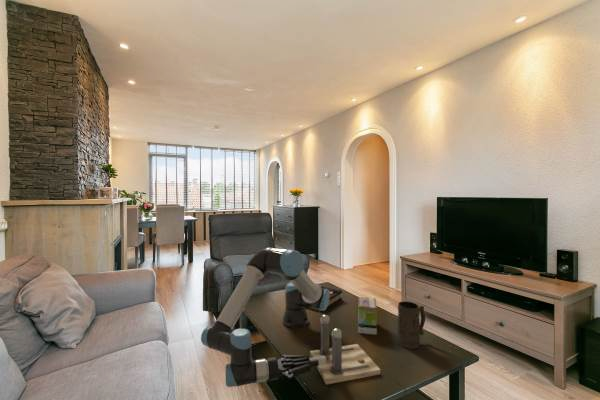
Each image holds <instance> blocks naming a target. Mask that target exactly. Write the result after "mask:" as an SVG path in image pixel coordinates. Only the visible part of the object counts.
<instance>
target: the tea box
mask: <svg viewBox="0 0 600 400" xmlns="http://www.w3.org/2000/svg"><path fill="white" fill-rule="evenodd" d="M357 304H358V306H357V307H358V309H357V314H358V315H357V319H358V320H357V327H358V329H357V331H358V334H365V335H366V334H367V335H378V305H377V299H376V298H375V297H374V298H373V297H360V296H358V303H357Z"/></svg>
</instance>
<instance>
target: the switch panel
mask: <svg viewBox="0 0 600 400" xmlns="http://www.w3.org/2000/svg"><path fill="white" fill-rule="evenodd" d="M329 351H330V352H331V355H325V357H326V364H324V365H318V366H315V367H316V369H317V371H318V372H319V374H320V376H321V378H322V380H323V382H324V384H325V385H331V384H336V383H342V382H346V381H351V380H356V379H357V380H358V379H362V378H368V377H373V376H378V375H381V369H380V367H379V366H378V365H377V364H376V363H375V362H374V361H373V359H372V358H371V357H370V356H369V355H368V354H367V353H366V352H365V351H364V349H363V348H362V347H360V345H359V344H358V343H355V344H347V345H342V370H343V373H342V374H337V375H334V374H333V372H332V371H331V369H330V367H332V347H329ZM309 356H310V358H312V357H319V356H322V355H321V353H320V351H319V349H315V350H310V351H309Z"/></svg>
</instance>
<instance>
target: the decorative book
mask: <svg viewBox="0 0 600 400" xmlns="http://www.w3.org/2000/svg"><path fill="white" fill-rule="evenodd" d="M320 287H321V288H323V289H327V290H329V293H330V298H329V303H328V306H327V308H326V310H328V309H329V308H331V307H333V306H334V305H336V304H338V302H340V301H342V297H341V295H342V293H343V290H339V289H335V288H331V287H326V286H322V285H320ZM326 310H324V311H323V312H325V311H326ZM319 312H322V311H321V310H320V311H319Z"/></svg>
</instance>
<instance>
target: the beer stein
mask: <svg viewBox="0 0 600 400" xmlns="http://www.w3.org/2000/svg"><path fill="white" fill-rule="evenodd" d="M397 313H398V314H397V330H396V331H397V340H396V342H397V344H398V345H399V346H401V347H402V348H406V349H410V350H415V349H418V348H420V347H421V342H420V339H421V336H424V334H425V333H424V325H425V324H426V313H425V306H424V305H418V303H415V302H413V301H412V302H411V301H400V302H398V304H397Z"/></svg>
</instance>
